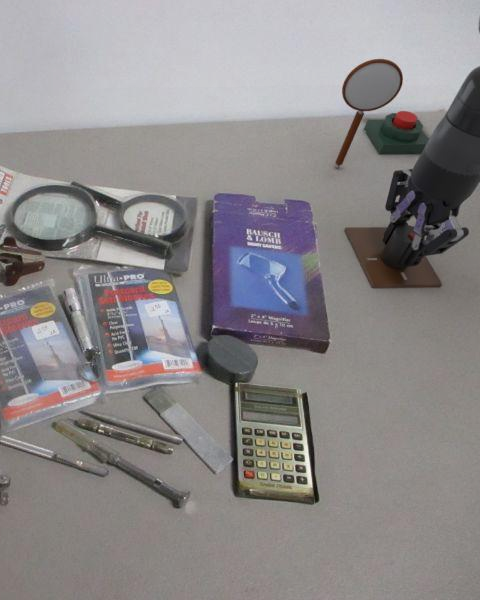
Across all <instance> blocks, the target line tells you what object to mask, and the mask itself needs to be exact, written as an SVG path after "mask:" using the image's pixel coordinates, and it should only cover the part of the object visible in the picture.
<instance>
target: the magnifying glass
mask: <svg viewBox="0 0 480 600" xmlns="http://www.w3.org/2000/svg"><path fill="white" fill-rule="evenodd" d="M403 80H404V76H403V72H402V70H401V68H400V67H399V65H398V64H397V63H395V62H394V61H392V60H390V59H385V58H374V59H370V60H366V61H363V62H362V63H360V64H359V65H357V66H355V67H354V68H353V69H352V70H351V71H350V72H349V73H348V74H347V75H346V77H345V79H344V81H343V84H342V88H341V95H342V98H343V101H344V102H345V104H346V105H347V106H348V107H349V108H351V109H353V110H355V111H356V113H355V115H354V118H353V119H352V121H351V124H350V126H349V129H348V131H347V134H346V136H345V138H344V141H343V142H342V146H341V148H340V150H339V152H338V155H337V157H336V159H335V163H334V164H335V165H334V167H335V168H336V169H339V168H340V167H341V166H342V165H343V163H344V161H345V159H346V156H347V155H348V152H349V150H350V147H351V145H352V144H353V143H352V142H353V140H354V138H355V135H356V133H357V131H358V129H359V127H360V124H361V122H362V120H363V118H364V115H365V113H364V112H372V111H376V110H380V109H382V108H384V107H385V106H387V105H388V104H390V103H391V102H392V101H394V99H395V98H396V97H397V96H398V94H399V93H400V91H401V89H402V86H403V82H404V81H403Z"/></svg>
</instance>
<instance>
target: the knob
mask: <svg viewBox="0 0 480 600" xmlns="http://www.w3.org/2000/svg"><path fill="white" fill-rule="evenodd" d="M413 230H414V226H413V225H409V224H408V225H400V226H398V227H396V228H395V230H394V232H393V234H392V235H391V237H390V239H389V241H388V242H387V244H386V246H385V248H384V249H383V251H382V253H381V259H382V261H383V262H384V263H385V264H386V265H388V266H390V267H392V268H396V269H404V268H406V267H402V266H401V264H400V261H401V259H402V258H403V256H404V255H405V253H406V251H407V250H408V248H409V246H410V245H412V242H413V239H414V236H415V232H414V231H413ZM424 240H426V236H425V237H424Z"/></svg>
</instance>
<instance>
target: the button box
mask: <svg viewBox="0 0 480 600" xmlns="http://www.w3.org/2000/svg"><path fill="white" fill-rule="evenodd" d="M397 113H398V112H392V113H389V114H387V115H386V116H385V117H384V119H367V120H366V123H365V126H364V128H363V131H364V130H365V131H366V132H365V131H364V132H365V135H366V136H367V138H368V139H369V141H370V142H371V144H372V145H373V147H374V149H375V151H376V152H377V154H378V155H421V153H422V151H423V149H424V148H425V146H426V144H427V142H428V140H429V139H430V138H429V137H428V136H427V135H426V133H425V131H424V130H423V128H424V125H423V124H422V122H421V121H420V120H419V119H417V121H416V123H415V125H414V127H413V129H411V130H405V129H401V128H398V127H397V126H395V125H394V124H393V120H394V118H395V116H396V114H397Z"/></svg>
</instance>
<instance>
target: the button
mask: <svg viewBox="0 0 480 600" xmlns="http://www.w3.org/2000/svg"><path fill="white" fill-rule="evenodd" d="M396 113H397V114H396V116H395V118H394V120H393V124H394V125H395V126H397V127H398V128H401V129H405V130H411V129H413V127H414V125H415V123H416V121H417V119H418V116H417V115H416V114H415V113H413V112H411V111H407V110H400V111H397V112H396ZM418 120H419V119H418Z"/></svg>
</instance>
